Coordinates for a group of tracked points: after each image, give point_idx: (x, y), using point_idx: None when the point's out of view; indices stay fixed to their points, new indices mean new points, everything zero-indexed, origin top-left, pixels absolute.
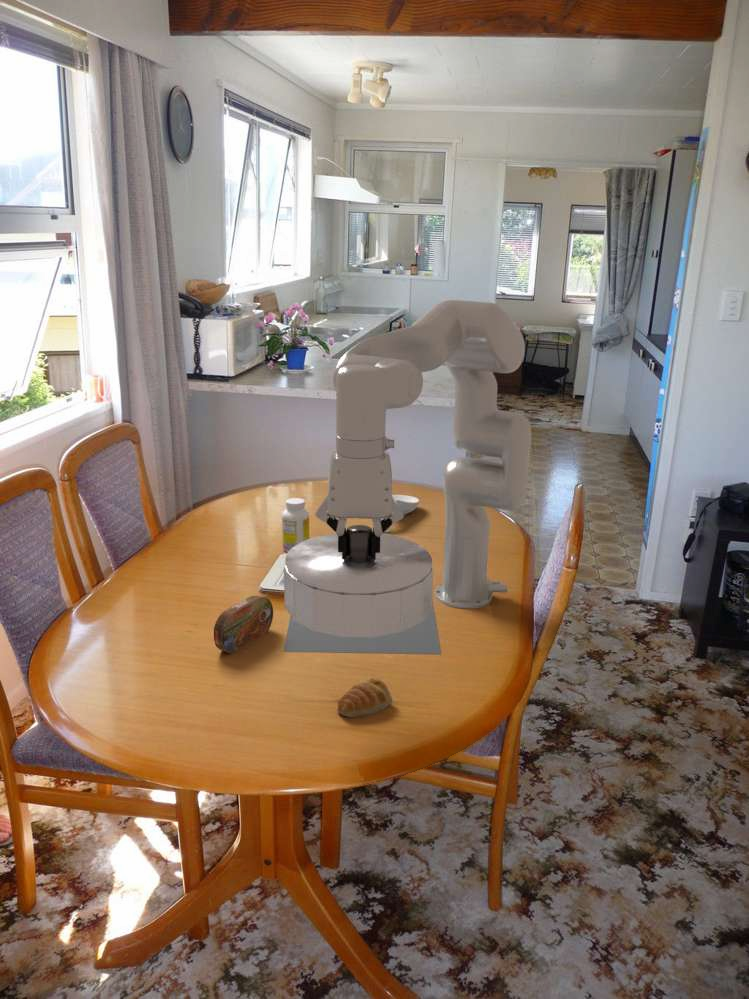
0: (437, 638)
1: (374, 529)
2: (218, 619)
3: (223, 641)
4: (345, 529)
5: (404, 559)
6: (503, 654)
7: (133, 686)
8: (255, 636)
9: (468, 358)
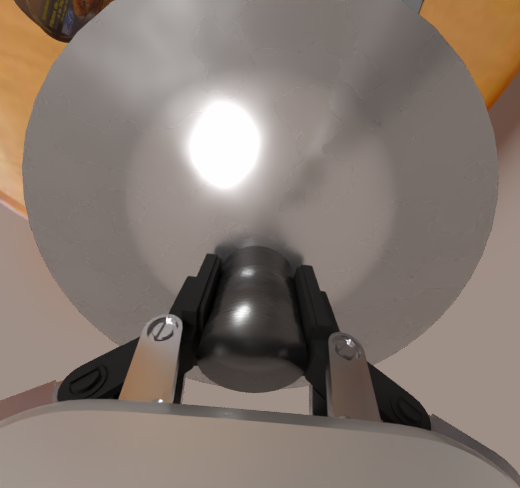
0: (419, 4)
1: (310, 406)
2: None
3: (59, 33)
4: (190, 355)
5: (381, 292)
6: (486, 75)
7: (3, 117)
8: None
9: None
